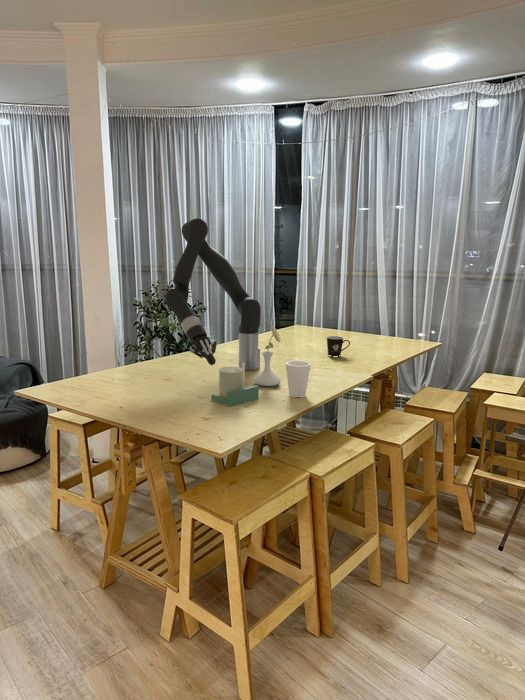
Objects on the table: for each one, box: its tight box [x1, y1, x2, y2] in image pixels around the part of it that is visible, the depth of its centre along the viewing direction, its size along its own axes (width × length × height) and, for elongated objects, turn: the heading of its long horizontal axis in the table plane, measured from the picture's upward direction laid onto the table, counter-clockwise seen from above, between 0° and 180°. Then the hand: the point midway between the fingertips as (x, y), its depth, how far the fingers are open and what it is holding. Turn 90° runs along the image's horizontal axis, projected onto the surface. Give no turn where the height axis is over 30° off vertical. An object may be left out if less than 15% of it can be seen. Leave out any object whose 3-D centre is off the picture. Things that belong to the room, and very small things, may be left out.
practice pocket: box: [211, 363, 260, 407], centre depth 188 cm, size 11×14×15 cm
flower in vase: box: [253, 325, 282, 387], centre depth 207 cm, size 13×11×25 cm
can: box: [218, 366, 242, 399], centre depth 189 cm, size 9×9×12 cm
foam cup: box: [285, 360, 312, 398], centre depth 193 cm, size 10×9×13 cm
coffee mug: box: [326, 335, 351, 356], centre depth 261 cm, size 12×9×10 cm
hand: (213, 363), depth 197 cm, fingers closed
